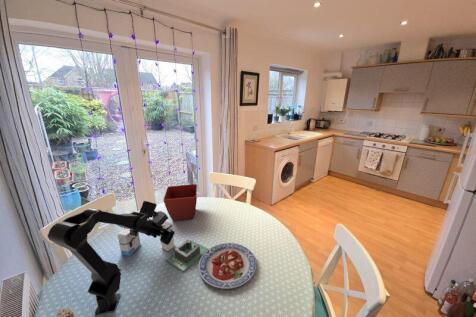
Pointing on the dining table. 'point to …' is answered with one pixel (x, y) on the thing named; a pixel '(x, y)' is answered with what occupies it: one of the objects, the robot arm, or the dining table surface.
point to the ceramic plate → (227, 265)
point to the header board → (186, 255)
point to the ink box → (128, 242)
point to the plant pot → (181, 201)
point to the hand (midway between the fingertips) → (169, 234)
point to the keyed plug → (171, 244)
